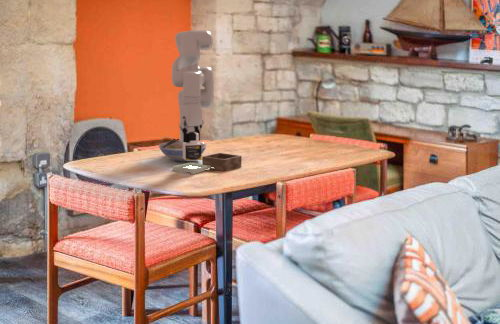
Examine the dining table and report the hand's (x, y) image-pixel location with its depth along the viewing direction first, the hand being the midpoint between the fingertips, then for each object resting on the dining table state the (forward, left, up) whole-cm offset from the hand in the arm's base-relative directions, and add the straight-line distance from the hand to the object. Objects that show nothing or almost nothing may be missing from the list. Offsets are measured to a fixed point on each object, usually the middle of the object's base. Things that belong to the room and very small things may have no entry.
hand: (191, 141), depth 334 cm
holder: (-14, +6, -13) cm, 20 cm away
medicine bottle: (0, 0, -8) cm, 8 cm away
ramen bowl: (-15, -18, -13) cm, 27 cm away
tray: (0, 0, -13) cm, 13 cm away
